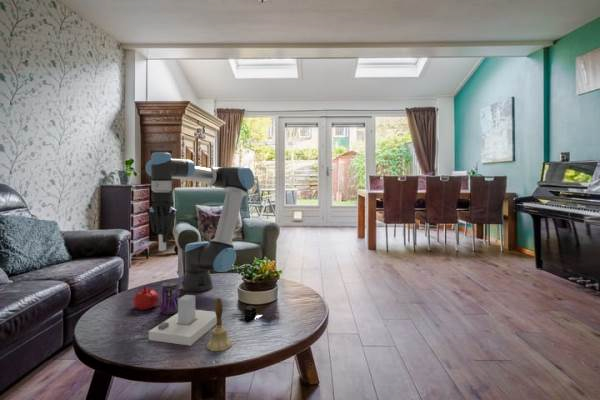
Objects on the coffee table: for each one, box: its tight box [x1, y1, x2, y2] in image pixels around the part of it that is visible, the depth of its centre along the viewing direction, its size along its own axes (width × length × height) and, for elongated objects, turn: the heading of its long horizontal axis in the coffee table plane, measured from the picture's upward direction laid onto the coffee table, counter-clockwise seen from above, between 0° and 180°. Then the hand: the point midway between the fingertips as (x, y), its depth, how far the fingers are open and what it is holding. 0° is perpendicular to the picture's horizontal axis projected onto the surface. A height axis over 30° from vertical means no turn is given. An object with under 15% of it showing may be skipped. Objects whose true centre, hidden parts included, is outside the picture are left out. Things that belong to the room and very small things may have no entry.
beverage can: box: [160, 280, 180, 315], centre depth 146 cm, size 7×7×12 cm
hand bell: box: [206, 297, 233, 352], centre depth 117 cm, size 8×8×16 cm
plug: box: [177, 294, 196, 326], centre depth 129 cm, size 5×4×12 cm
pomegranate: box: [132, 286, 160, 311], centre depth 151 cm, size 10×10×9 cm
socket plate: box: [148, 309, 217, 347], centre depth 129 cm, size 22×16×4 cm
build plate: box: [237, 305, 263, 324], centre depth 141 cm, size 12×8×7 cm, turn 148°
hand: (162, 250), depth 142 cm, fingers closed
